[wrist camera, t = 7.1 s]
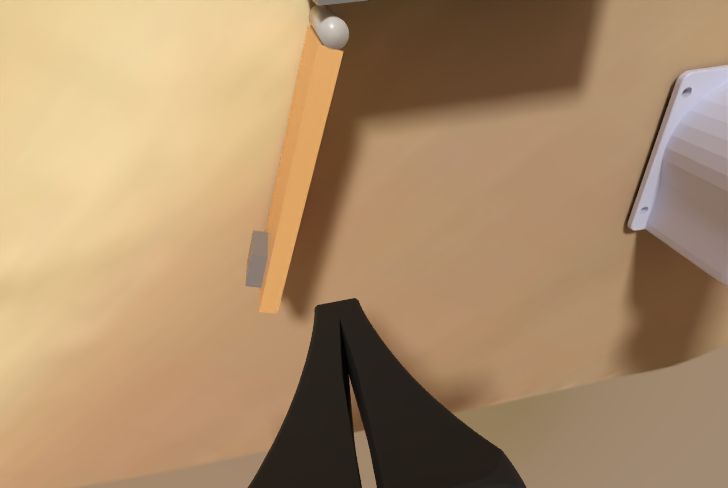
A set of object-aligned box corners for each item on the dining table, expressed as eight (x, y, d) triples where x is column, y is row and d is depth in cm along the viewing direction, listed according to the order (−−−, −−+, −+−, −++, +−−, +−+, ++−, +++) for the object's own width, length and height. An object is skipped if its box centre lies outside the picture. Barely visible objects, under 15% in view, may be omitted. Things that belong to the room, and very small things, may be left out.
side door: (247, 250, 22) (242, 310, 18) (294, -5, 16) (302, 5, 12) (277, 254, 22) (278, 313, 18) (333, 8, 16) (352, 22, 12)
